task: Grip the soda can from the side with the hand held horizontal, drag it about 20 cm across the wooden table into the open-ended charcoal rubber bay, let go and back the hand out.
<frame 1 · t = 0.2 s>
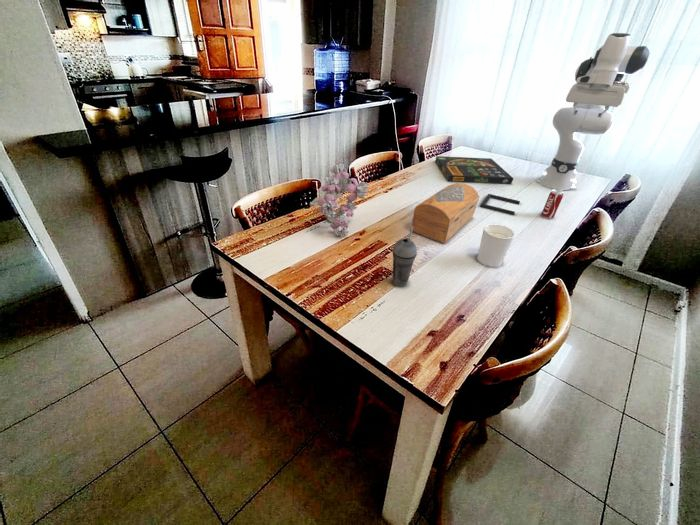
hand: (586, 116, 142), 39 cm above the table, tool pointing down, fingers open, 8 cm apart
flower: (339, 229, 130), on the table
bay: (500, 205, 156), on the table
candle holder: (488, 260, 116), on the table
soda can: (546, 216, 147), on the table
beverage cup: (399, 283, 103), on the table
wooden box: (442, 224, 137), on the table
pizza box: (470, 172, 194), on the table
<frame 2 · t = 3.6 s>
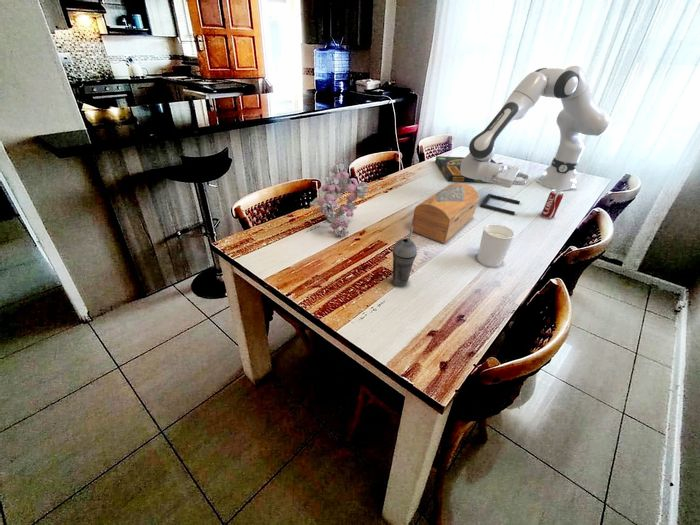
hand: (526, 180, 145), 14 cm above the table, tool horizontal, fingers open, 8 cm apart
nothing on the table moved.
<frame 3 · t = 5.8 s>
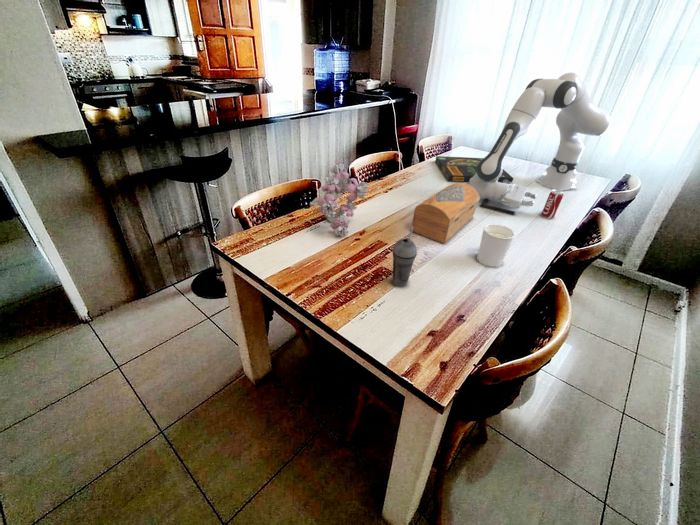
hand: (534, 200, 147), 6 cm above the table, tool horizontal, fingers open, 8 cm apart
nothing on the table moved.
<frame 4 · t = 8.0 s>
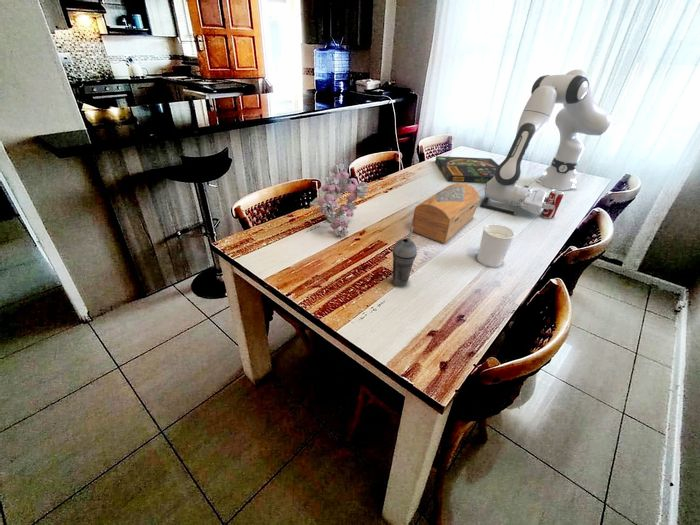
hand: (554, 204, 143), 6 cm above the table, tool horizontal, fingers closed on soda can, 5 cm apart
soda can: (546, 216, 147), on the table, touching gripper
everything else where it was.
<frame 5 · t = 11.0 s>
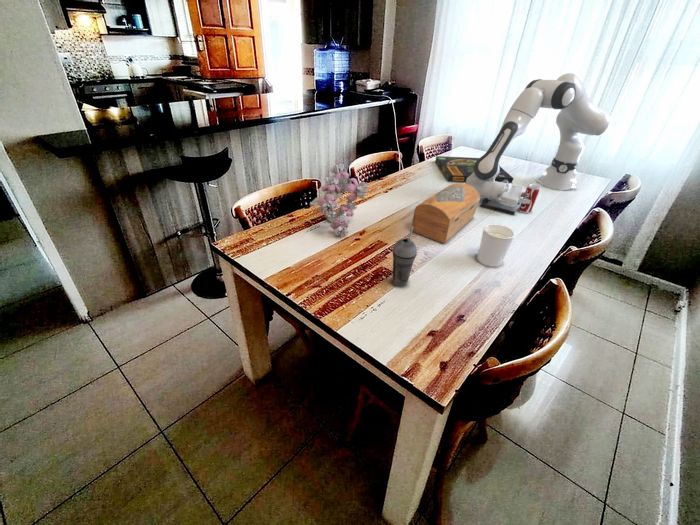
hand: (531, 199, 147), 6 cm above the table, tool horizontal, fingers closed on soda can, 5 cm apart
soda can: (524, 211, 151), on the table, touching gripper
everything else where it was.
when the fingers open (6 cm above the table, at t = 14.0 s): soda can stays where it is, on the table.
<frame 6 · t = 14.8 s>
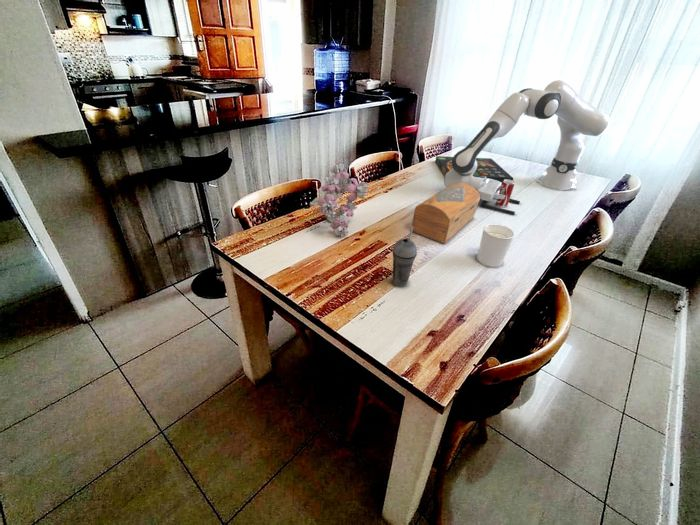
hand: (507, 193, 152), 6 cm above the table, tool horizontal, fingers open, 8 cm apart
soda can: (501, 205, 156), on the table
everything else where it was.
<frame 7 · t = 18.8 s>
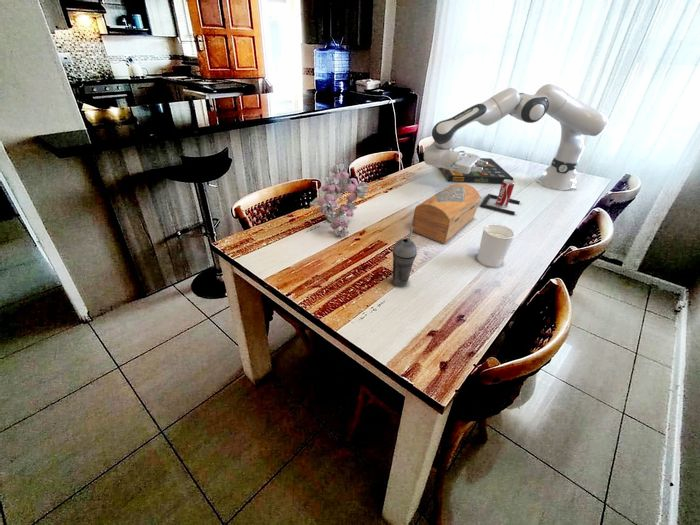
hand: (484, 167, 151), 16 cm above the table, tool horizontal, fingers open, 8 cm apart
nothing on the table moved.
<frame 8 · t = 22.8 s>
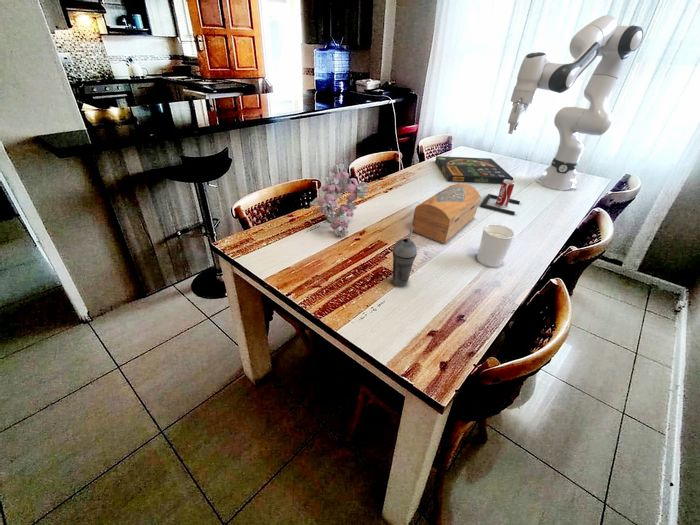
hand: (512, 131, 147), 31 cm above the table, tool pointing down, fingers open, 8 cm apart
nothing on the table moved.
at the end: soda can inside the target area on the bay (0.5 cm from its centre), point 0.0 cm above the bay's base; soda can tilted 0°; the gripper is holding nothing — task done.
